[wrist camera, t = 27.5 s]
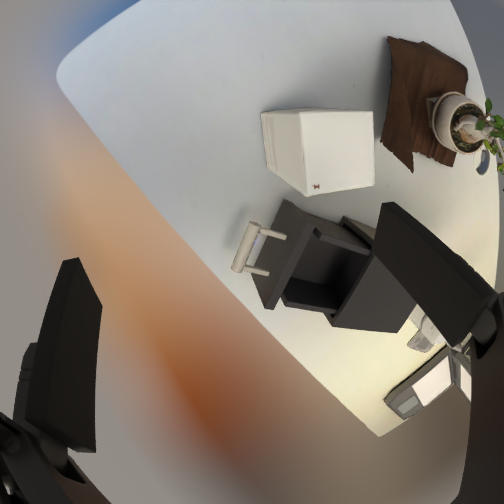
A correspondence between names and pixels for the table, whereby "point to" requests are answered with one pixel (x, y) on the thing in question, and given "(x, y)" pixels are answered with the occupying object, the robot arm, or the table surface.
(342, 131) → the white packaging box
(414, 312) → the ink box
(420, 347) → the grey l-shaped stand
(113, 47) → the table surface
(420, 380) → the grey document camera stand
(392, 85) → the potted plant
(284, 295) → the drawer
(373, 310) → the dark drawer cabinet
